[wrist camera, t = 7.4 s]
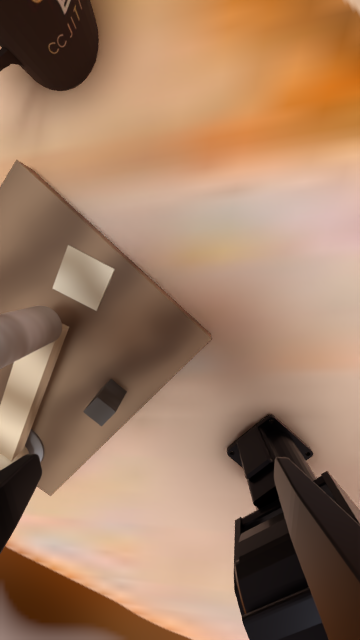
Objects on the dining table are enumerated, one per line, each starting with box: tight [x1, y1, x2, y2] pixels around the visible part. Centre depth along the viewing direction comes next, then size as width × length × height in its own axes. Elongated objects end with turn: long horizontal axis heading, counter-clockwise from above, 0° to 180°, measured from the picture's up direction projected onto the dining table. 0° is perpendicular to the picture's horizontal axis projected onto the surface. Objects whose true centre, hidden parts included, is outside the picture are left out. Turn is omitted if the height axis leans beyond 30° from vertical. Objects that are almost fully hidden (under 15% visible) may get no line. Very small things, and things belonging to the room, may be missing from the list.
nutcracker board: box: [0, 160, 212, 496], centre depth 19 cm, size 21×26×4 cm
